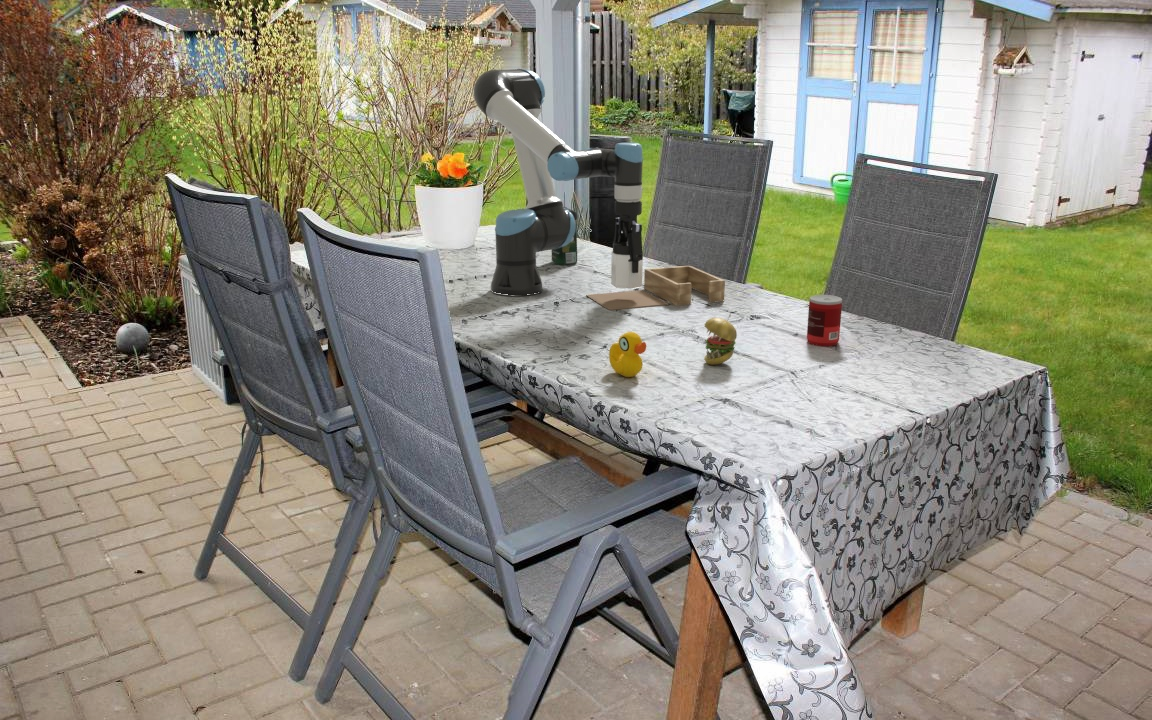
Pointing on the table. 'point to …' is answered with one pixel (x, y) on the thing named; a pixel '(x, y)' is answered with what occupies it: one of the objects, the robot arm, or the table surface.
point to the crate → (682, 284)
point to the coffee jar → (567, 248)
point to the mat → (627, 300)
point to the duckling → (627, 354)
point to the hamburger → (720, 340)
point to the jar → (622, 266)
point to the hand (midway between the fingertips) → (627, 280)
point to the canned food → (824, 320)
